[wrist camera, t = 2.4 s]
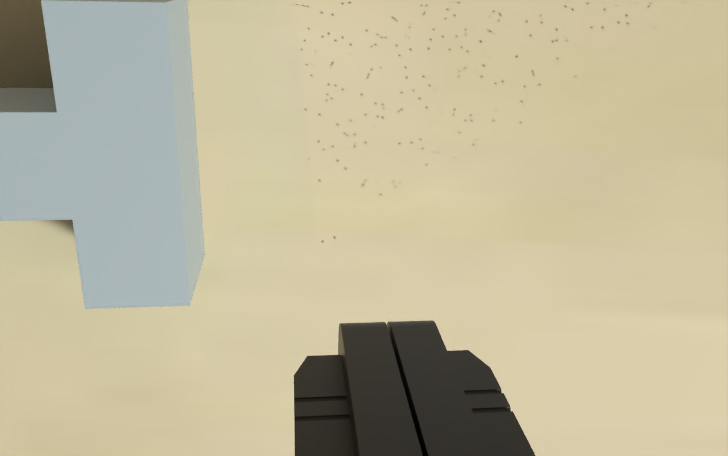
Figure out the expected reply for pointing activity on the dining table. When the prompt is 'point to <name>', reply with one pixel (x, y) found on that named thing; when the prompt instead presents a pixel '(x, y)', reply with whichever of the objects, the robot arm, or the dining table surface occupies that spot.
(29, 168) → the block
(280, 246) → the dining table surface
